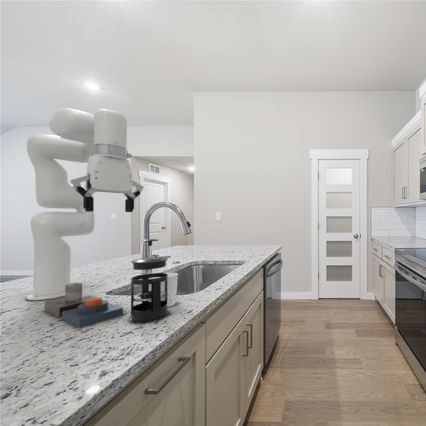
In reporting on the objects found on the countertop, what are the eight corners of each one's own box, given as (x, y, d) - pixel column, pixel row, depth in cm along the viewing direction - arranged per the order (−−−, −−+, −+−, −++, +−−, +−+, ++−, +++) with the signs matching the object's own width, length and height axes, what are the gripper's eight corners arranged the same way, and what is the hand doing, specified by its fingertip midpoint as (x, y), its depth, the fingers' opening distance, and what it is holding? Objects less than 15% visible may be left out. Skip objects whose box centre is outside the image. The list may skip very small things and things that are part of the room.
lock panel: (44, 310, 80) (44, 300, 80) (85, 301, 88) (85, 292, 88) (59, 318, 74) (59, 307, 74) (101, 307, 83) (101, 297, 83)
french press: (125, 316, 75) (126, 239, 75) (161, 308, 82) (161, 237, 82) (136, 328, 67) (137, 241, 67) (175, 317, 74) (175, 239, 74)
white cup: (157, 311, 79) (157, 279, 79) (145, 306, 83) (145, 276, 84) (182, 303, 86) (182, 274, 86) (170, 299, 90) (170, 271, 90)
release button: (82, 305, 74) (82, 299, 74) (98, 302, 77) (98, 296, 77) (88, 307, 72) (88, 301, 72) (103, 304, 75) (103, 298, 75)
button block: (61, 319, 73) (62, 305, 73) (104, 308, 82) (104, 295, 82) (79, 328, 67) (79, 313, 67) (123, 315, 76) (123, 301, 76)
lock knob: (62, 300, 80) (62, 283, 80) (79, 296, 84) (79, 280, 84) (67, 302, 78) (68, 285, 79) (84, 298, 82) (84, 282, 82)
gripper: (136, 160, 84) (136, 212, 84) (65, 148, 69) (65, 211, 68) (149, 158, 80) (148, 212, 80) (77, 145, 65) (76, 211, 65)
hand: (110, 211), depth 74 cm, fingers open, 9 cm apart
